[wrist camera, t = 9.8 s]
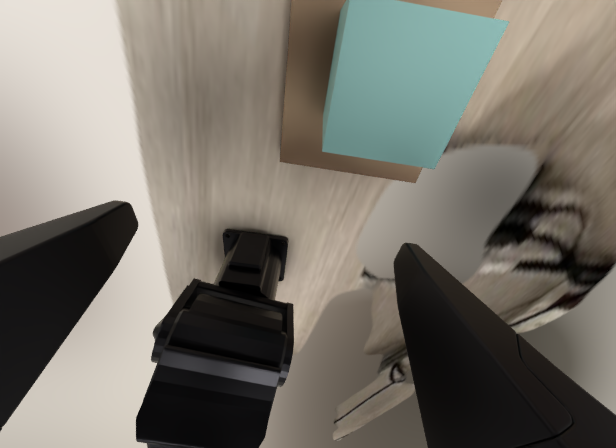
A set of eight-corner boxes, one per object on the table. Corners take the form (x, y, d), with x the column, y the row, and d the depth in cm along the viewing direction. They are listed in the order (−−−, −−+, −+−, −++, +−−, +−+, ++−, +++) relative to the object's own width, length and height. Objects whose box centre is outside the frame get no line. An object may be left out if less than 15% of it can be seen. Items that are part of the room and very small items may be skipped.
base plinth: (407, 171, 19) (415, 183, 18) (283, 151, 19) (279, 161, 17) (506, -53, 12) (534, -67, 10) (303, -95, 11) (300, -116, 10)
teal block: (400, 128, 15) (434, 169, 10) (322, 115, 15) (322, 151, 10) (437, 27, 12) (509, 21, 7) (340, 9, 12) (351, -9, 7)
